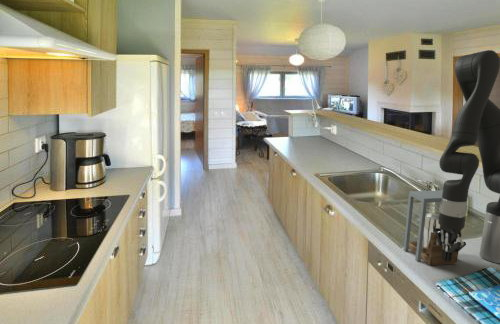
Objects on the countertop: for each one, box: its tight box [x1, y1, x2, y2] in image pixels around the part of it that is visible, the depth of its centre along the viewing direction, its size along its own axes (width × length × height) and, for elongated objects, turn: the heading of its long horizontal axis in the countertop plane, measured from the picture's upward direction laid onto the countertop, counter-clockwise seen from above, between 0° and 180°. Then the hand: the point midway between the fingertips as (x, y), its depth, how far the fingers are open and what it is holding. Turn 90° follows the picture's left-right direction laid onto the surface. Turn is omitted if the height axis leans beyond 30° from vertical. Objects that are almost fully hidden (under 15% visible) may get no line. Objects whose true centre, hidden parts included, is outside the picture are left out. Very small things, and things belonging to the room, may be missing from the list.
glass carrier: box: [408, 240, 460, 266], centre depth 124 cm, size 15×10×7 cm
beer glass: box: [422, 212, 440, 253], centre depth 124 cm, size 7×7×15 cm
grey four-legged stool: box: [403, 189, 443, 262], centre depth 123 cm, size 9×15×24 cm, turn 96°
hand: (446, 260), depth 113 cm, fingers closed
